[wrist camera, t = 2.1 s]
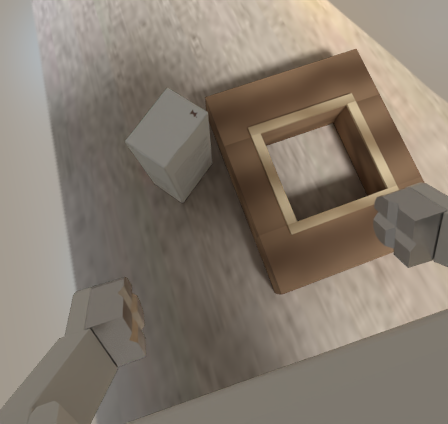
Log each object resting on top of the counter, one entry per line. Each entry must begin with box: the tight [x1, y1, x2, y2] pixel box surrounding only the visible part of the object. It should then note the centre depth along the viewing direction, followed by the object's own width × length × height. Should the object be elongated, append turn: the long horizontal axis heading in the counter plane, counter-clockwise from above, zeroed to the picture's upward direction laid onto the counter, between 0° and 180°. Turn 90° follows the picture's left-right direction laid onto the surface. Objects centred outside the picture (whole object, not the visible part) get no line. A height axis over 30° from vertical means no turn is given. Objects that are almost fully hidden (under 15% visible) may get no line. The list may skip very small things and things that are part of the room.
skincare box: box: [125, 88, 212, 203], centre depth 32 cm, size 6×4×12 cm
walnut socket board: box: [205, 49, 424, 294], centre depth 36 cm, size 22×18×4 cm
